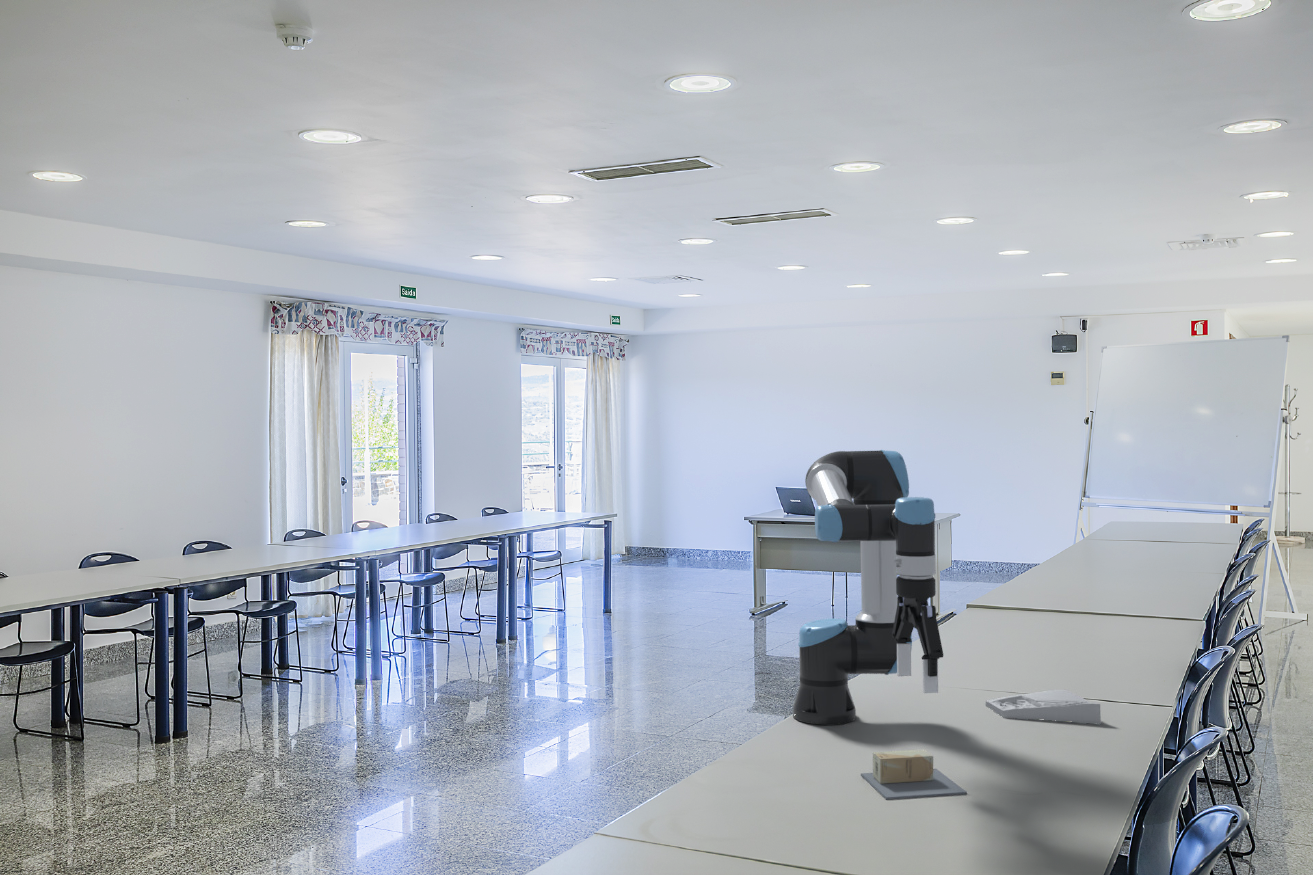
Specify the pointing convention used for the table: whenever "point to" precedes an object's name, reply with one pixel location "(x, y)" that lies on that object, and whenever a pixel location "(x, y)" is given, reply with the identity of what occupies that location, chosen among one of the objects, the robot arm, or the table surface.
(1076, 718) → the ramp
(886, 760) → the box
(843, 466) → the robot arm
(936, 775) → the mat
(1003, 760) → the table surface
